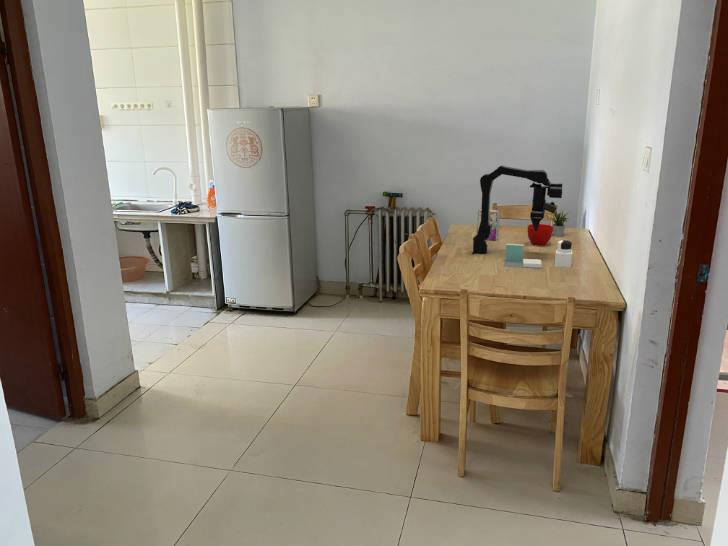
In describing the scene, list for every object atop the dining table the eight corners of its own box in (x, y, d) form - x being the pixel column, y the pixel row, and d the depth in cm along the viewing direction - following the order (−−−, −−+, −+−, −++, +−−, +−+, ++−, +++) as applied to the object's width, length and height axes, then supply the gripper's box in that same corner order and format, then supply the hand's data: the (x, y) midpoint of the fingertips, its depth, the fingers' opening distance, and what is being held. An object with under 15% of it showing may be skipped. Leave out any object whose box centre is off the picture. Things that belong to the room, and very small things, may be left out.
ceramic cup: (561, 244, 307) (562, 225, 304) (540, 248, 298) (542, 229, 295) (541, 239, 317) (543, 222, 315) (521, 244, 308) (522, 225, 305)
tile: (505, 261, 272) (506, 244, 270) (505, 260, 274) (506, 243, 272) (522, 262, 270) (523, 245, 267) (522, 261, 271) (523, 244, 269)
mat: (503, 267, 263) (503, 266, 263) (506, 259, 278) (506, 258, 278) (539, 270, 258) (539, 269, 258) (540, 261, 273) (540, 260, 273)
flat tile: (523, 267, 261) (523, 263, 260) (522, 262, 268) (523, 258, 268) (541, 268, 259) (541, 264, 258) (540, 263, 266) (540, 259, 266)
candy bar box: (476, 239, 321) (477, 210, 317) (479, 237, 325) (481, 208, 321) (495, 241, 315) (497, 211, 311) (498, 239, 319) (500, 210, 315)
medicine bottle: (570, 265, 266) (573, 239, 263) (570, 269, 260) (573, 243, 257) (554, 263, 269) (556, 238, 265) (554, 267, 262) (556, 242, 259)
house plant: (539, 236, 326) (541, 208, 321) (546, 232, 337) (549, 204, 332) (564, 239, 318) (567, 210, 313) (571, 234, 329) (574, 206, 324)
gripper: (556, 200, 261) (553, 234, 266) (557, 195, 278) (553, 226, 283) (531, 199, 265) (528, 232, 269) (533, 194, 282) (530, 225, 286)
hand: (536, 229), depth 276 cm, fingers open, 9 cm apart
